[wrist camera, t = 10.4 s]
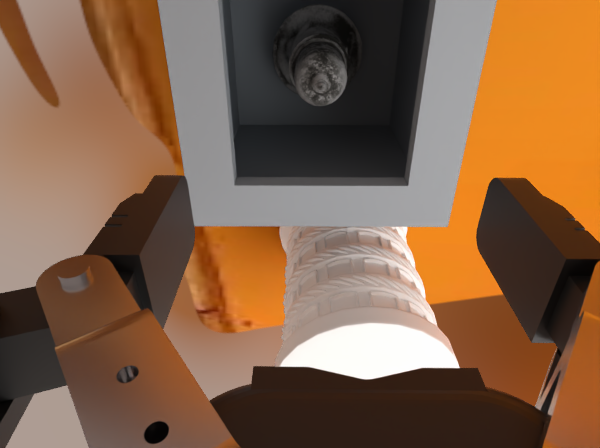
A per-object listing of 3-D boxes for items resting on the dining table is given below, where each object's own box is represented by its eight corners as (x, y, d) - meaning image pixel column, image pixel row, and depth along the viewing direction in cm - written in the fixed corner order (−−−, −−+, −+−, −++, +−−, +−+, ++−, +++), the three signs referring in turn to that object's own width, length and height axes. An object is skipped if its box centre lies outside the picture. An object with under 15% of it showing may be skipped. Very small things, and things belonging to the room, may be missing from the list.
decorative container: (392, 151, 36) (456, 296, 21) (414, 257, 42) (477, 430, 27) (262, 187, 38) (235, 344, 23) (300, 284, 44) (300, 459, 29)
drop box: (210, -72, 28) (143, -87, 16) (425, -72, 28) (515, -87, 16) (228, 134, 36) (192, 226, 24) (399, 134, 36) (447, 226, 24)
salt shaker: (266, 73, 33) (250, 127, 22) (287, -13, 30) (279, 5, 19) (341, 95, 33) (357, 157, 23) (368, 14, 30) (401, 45, 20)
